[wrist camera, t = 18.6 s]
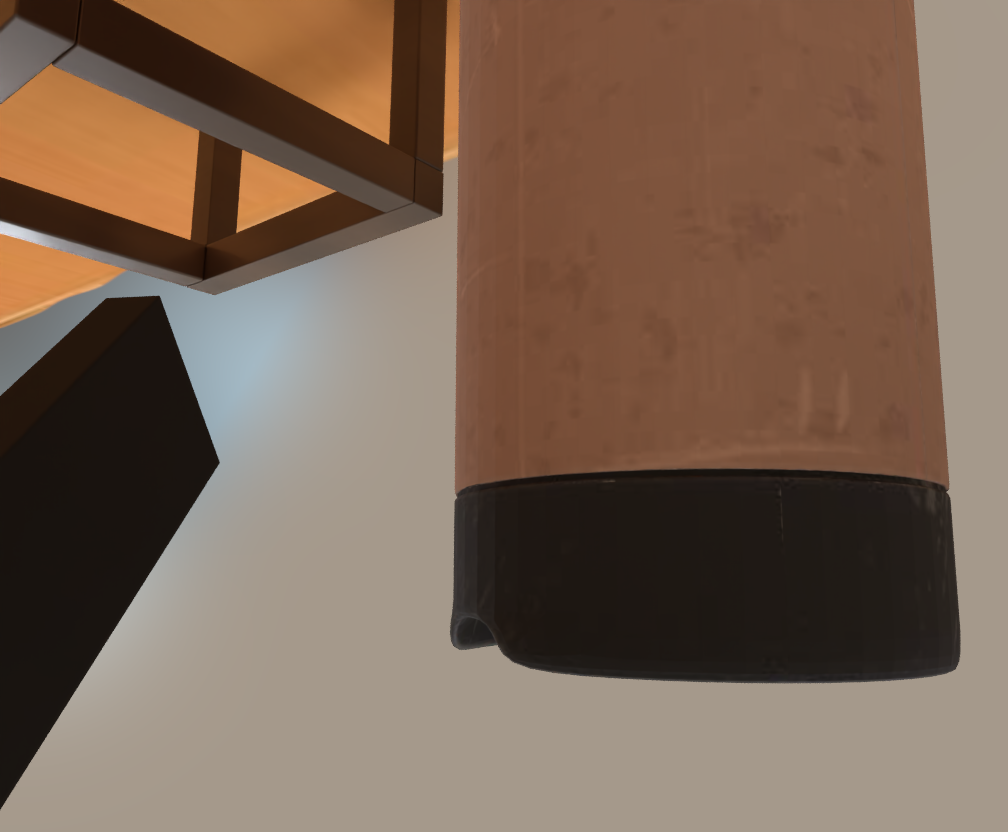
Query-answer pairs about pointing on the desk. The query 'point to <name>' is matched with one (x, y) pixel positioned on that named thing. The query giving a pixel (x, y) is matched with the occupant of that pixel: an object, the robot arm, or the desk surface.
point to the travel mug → (699, 344)
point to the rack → (232, 144)
